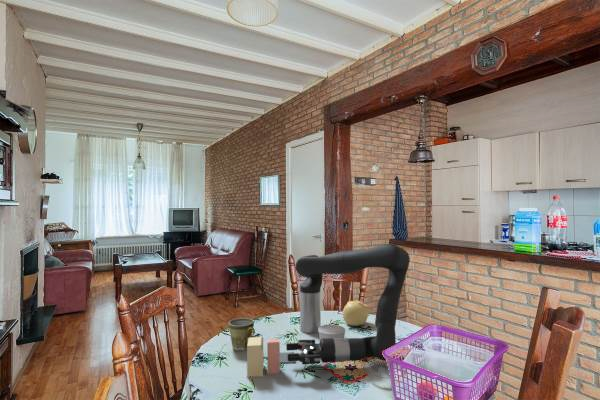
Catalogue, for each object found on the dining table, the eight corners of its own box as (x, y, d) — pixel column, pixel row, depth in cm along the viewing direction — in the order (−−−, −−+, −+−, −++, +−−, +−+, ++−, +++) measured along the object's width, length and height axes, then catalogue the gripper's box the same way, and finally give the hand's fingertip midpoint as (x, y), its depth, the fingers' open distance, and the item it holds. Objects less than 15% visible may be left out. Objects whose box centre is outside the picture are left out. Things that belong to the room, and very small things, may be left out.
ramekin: (327, 349, 129) (327, 335, 129) (313, 339, 139) (313, 327, 139) (351, 344, 134) (350, 330, 134) (335, 335, 144) (335, 322, 144)
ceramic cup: (223, 347, 131) (223, 322, 131) (243, 340, 138) (243, 316, 139) (243, 357, 122) (243, 329, 123) (264, 349, 130) (264, 323, 130)
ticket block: (265, 366, 115) (265, 336, 115) (265, 376, 108) (265, 344, 108) (248, 367, 114) (248, 337, 115) (247, 377, 107) (247, 345, 108)
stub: (279, 368, 113) (279, 338, 114) (279, 372, 110) (279, 342, 111) (267, 369, 113) (267, 339, 113) (267, 373, 110) (267, 342, 110)
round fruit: (372, 323, 159) (372, 300, 160) (359, 330, 150) (359, 305, 151) (352, 318, 167) (351, 296, 167) (338, 324, 158) (338, 301, 158)
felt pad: (272, 354, 125) (272, 353, 125) (293, 353, 126) (293, 352, 126) (272, 363, 117) (272, 362, 117) (295, 362, 118) (295, 361, 118)
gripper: (330, 331, 121) (285, 333, 119) (338, 347, 107) (288, 349, 105) (330, 352, 121) (285, 354, 119) (338, 371, 106) (288, 373, 105)
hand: (287, 352), depth 112 cm, fingers open, 8 cm apart
